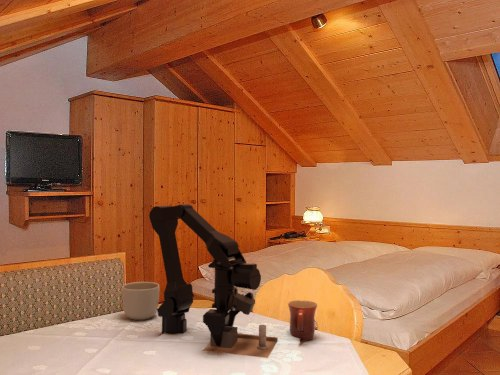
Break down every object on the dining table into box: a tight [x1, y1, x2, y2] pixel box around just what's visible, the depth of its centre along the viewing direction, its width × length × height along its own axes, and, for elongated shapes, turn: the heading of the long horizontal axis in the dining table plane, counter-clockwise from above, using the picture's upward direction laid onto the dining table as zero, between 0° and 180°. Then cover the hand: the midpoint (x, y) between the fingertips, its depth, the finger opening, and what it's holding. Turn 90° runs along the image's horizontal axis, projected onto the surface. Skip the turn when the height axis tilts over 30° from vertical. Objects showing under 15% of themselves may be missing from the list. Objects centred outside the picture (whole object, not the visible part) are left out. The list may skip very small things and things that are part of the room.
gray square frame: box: [209, 326, 238, 348], centre depth 126 cm, size 6×6×4 cm
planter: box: [121, 281, 160, 321], centre depth 153 cm, size 12×12×11 cm
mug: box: [287, 299, 318, 342], centre depth 133 cm, size 12×9×10 cm
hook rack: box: [202, 324, 279, 359], centre depth 124 cm, size 18×13×7 cm
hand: (223, 340), depth 126 cm, fingers open, 9 cm apart
